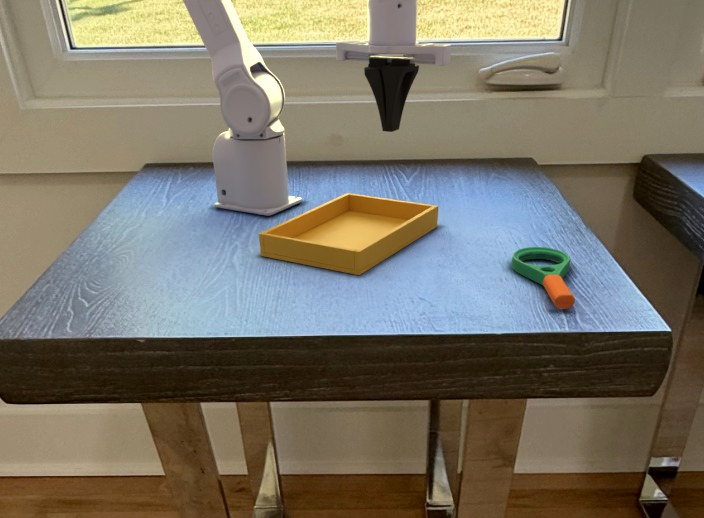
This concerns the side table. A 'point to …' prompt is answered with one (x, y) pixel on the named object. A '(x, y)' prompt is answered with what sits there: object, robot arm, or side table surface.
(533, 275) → the magnifying glass
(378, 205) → the tray
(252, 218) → the side table surface
